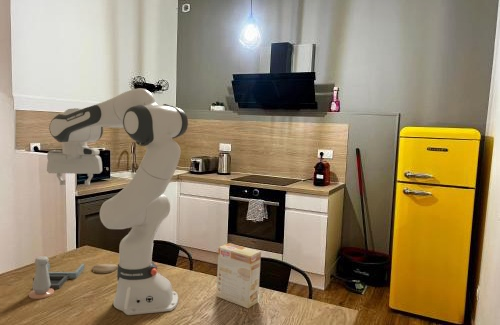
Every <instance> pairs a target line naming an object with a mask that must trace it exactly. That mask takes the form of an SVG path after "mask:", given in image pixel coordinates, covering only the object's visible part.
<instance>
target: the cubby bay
mask: <svg viewBox="0 0 500 325" xmlns="http://www.w3.org/2000/svg"><path fill="white" fill-rule="evenodd" d="M47 268H48V273H49V275H68V279H77V278H78V277H79V276H80V275H81V274H82V273H83V271H84V270H85V263H81V264H80V266H78V268H77V269H76V270H75V271H49V270H50V269H51V263H49V262H48V264H47Z"/></svg>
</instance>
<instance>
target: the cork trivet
mask: <svg viewBox="0 0 500 325" xmlns="http://www.w3.org/2000/svg"><path fill="white" fill-rule="evenodd" d="M117 267H118V264H115V263H112V262H109V263H108V262H107V263H105V262H104V263H99V264H96V265H94V266H92V271H93V273H94V274H110V273H113V272H115V271H116V272H117Z"/></svg>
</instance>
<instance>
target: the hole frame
mask: <svg viewBox="0 0 500 325" xmlns="http://www.w3.org/2000/svg"><path fill="white" fill-rule="evenodd" d="M49 278H50V283H51V286H50V288H52V289H54V290H59V289H60V288H62V286H63V285H64V284H65V283H66V282H67V281H68V280H69V278H68V275H49Z"/></svg>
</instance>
